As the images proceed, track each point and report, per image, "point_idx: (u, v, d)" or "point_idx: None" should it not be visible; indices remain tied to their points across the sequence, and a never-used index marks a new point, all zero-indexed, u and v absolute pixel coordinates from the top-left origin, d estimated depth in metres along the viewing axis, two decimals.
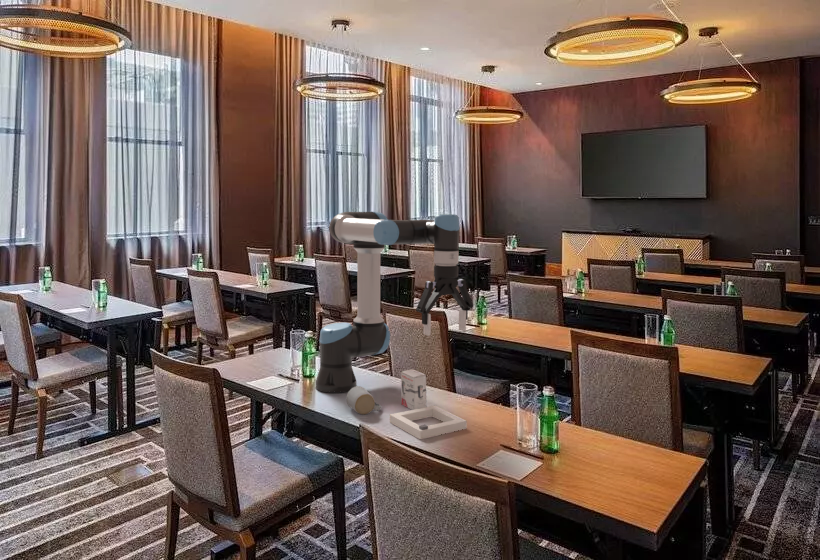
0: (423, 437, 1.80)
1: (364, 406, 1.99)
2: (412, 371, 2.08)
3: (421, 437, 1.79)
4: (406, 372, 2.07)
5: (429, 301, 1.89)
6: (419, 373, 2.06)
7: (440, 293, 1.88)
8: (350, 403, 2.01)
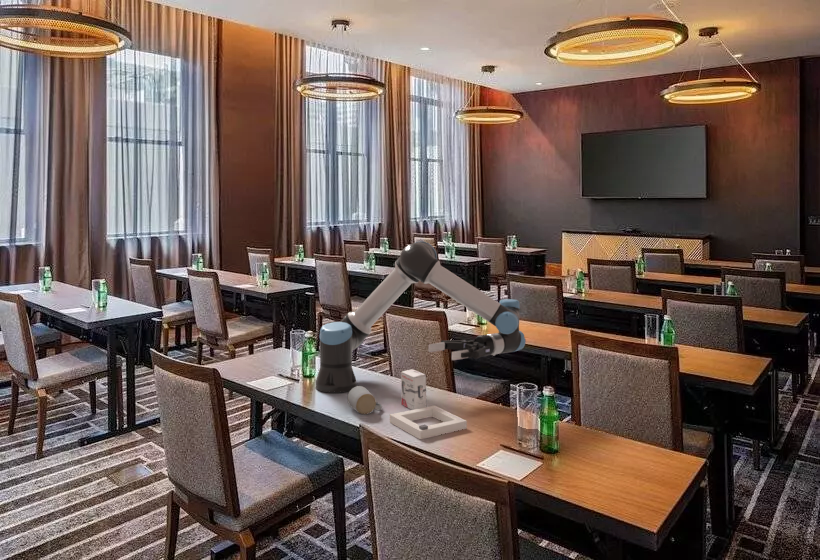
0: (423, 437, 1.80)
1: (366, 405, 1.99)
2: (412, 371, 2.08)
3: (421, 437, 1.79)
4: (406, 372, 2.07)
5: None
6: (419, 373, 2.06)
7: None
8: (351, 403, 2.01)
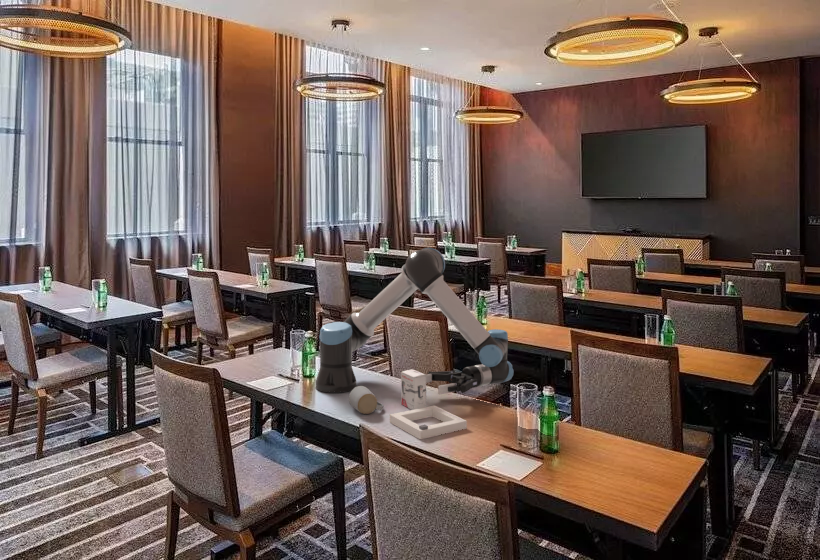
0: (423, 437, 1.80)
1: (367, 405, 1.99)
2: (412, 371, 2.08)
3: (421, 437, 1.79)
4: (406, 372, 2.07)
5: (461, 384, 2.10)
6: (419, 373, 2.06)
7: None
8: (353, 403, 2.01)
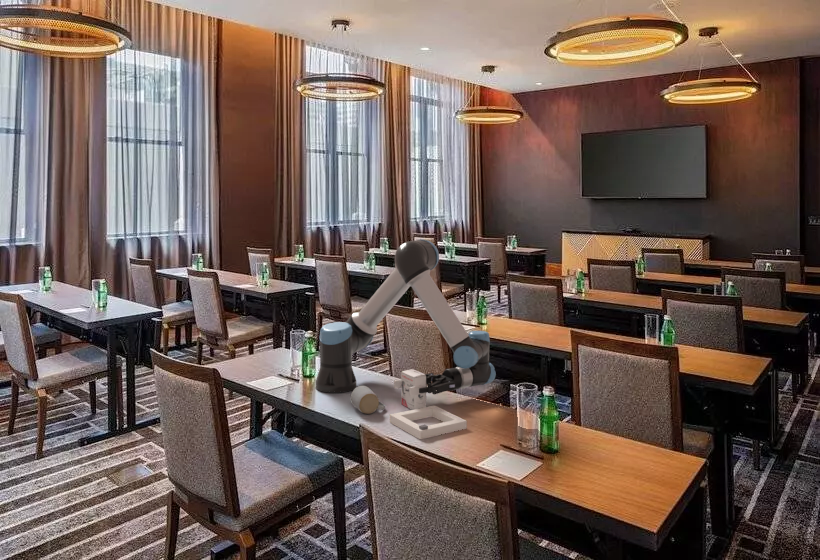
0: (423, 437, 1.80)
1: (369, 405, 2.00)
2: (412, 371, 2.08)
3: (421, 437, 1.79)
4: (406, 372, 2.07)
5: None
6: (419, 373, 2.06)
7: None
8: (354, 402, 2.02)
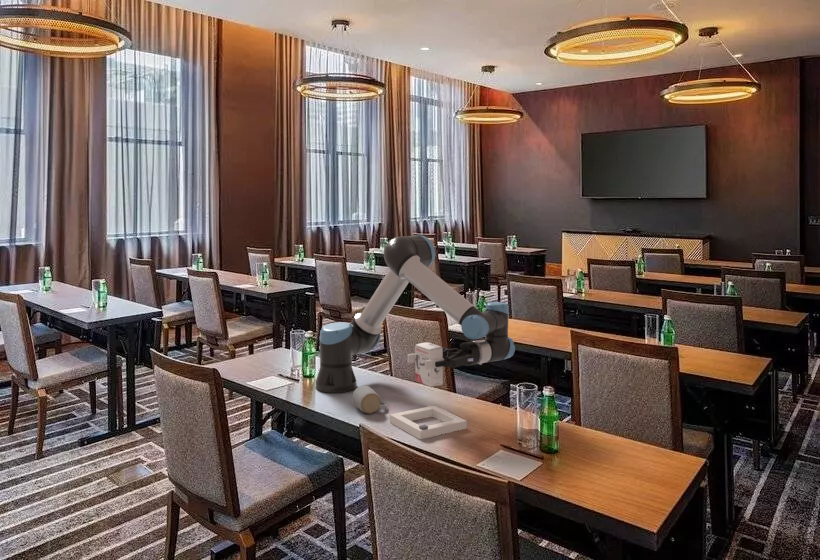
0: (423, 437, 1.80)
1: (370, 405, 2.00)
2: (427, 344, 1.92)
3: (421, 437, 1.79)
4: (420, 345, 1.91)
5: None
6: (435, 346, 1.90)
7: None
8: (356, 402, 2.02)
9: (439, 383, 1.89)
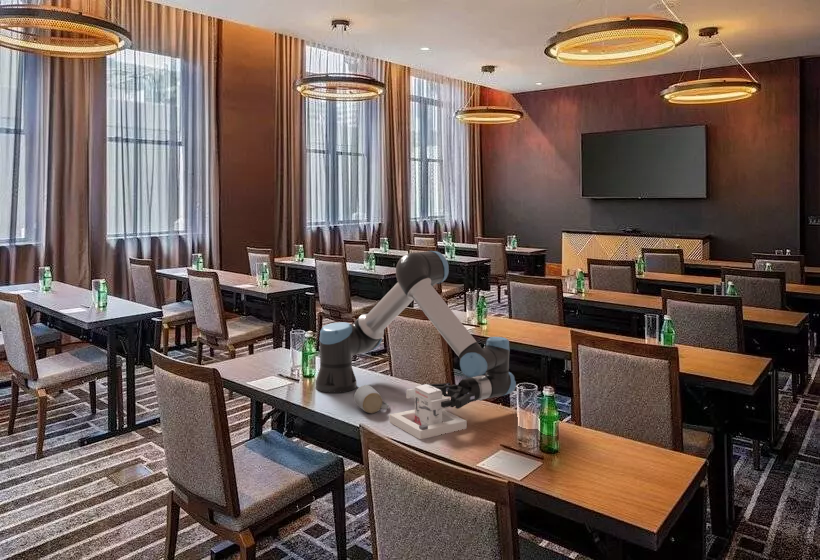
0: (423, 437, 1.80)
1: (372, 404, 2.00)
2: (427, 386, 1.91)
3: (421, 437, 1.79)
4: (420, 388, 1.90)
5: (457, 399, 1.89)
6: (434, 389, 1.88)
7: None
8: (358, 402, 2.02)
9: None
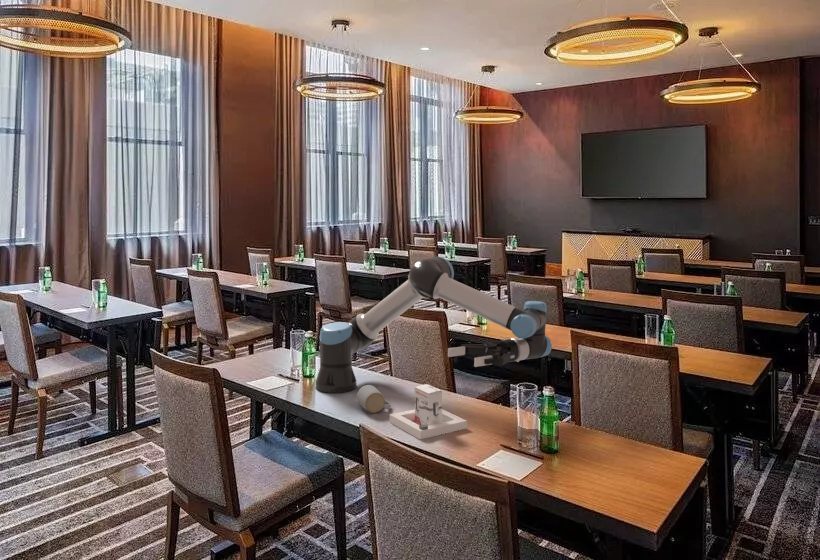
0: (423, 437, 1.80)
1: (375, 404, 2.00)
2: (426, 386, 1.91)
3: (421, 437, 1.79)
4: (420, 388, 1.90)
5: (498, 357, 1.95)
6: (434, 389, 1.88)
7: None
8: (360, 401, 2.03)
9: None
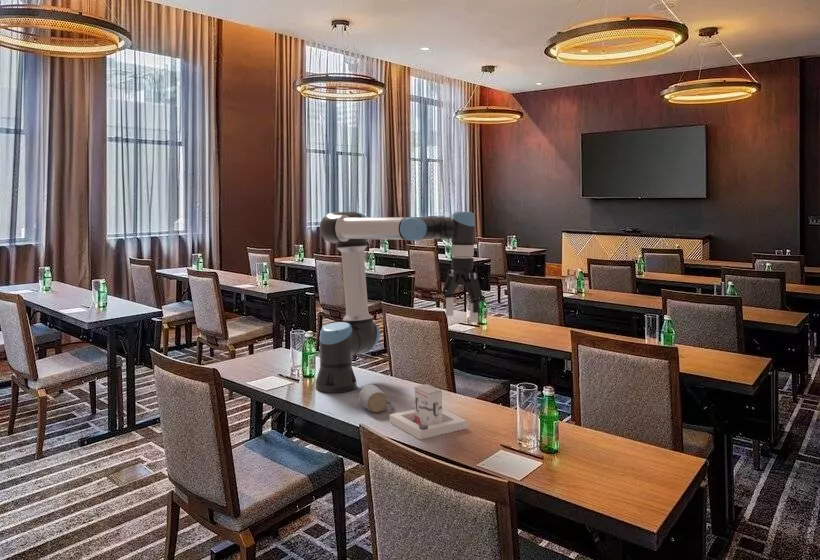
0: (423, 437, 1.80)
1: (377, 404, 2.01)
2: (426, 386, 1.91)
3: (421, 437, 1.79)
4: (420, 388, 1.90)
5: (472, 291, 2.07)
6: (434, 389, 1.88)
7: None
8: (363, 401, 2.03)
9: None
